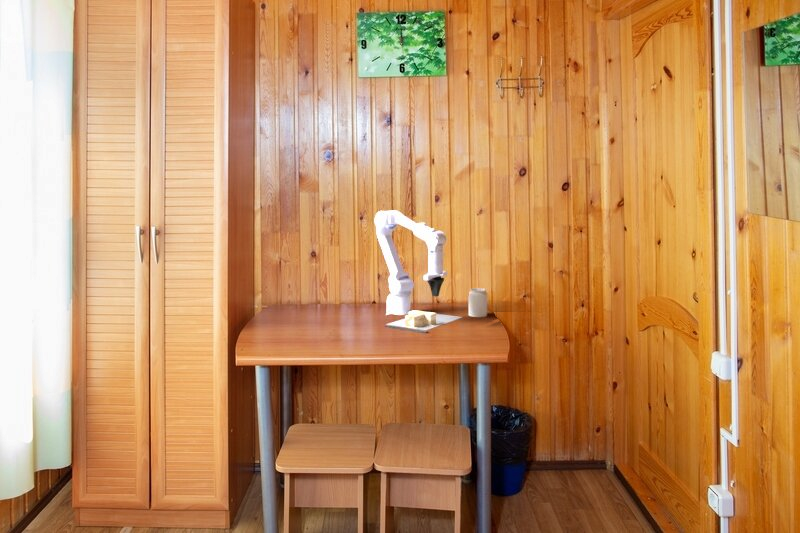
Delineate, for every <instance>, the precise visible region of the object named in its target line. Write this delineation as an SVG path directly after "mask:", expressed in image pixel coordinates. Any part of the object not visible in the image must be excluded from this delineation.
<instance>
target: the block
mask: <svg viewBox="0 0 800 533" xmlns="http://www.w3.org/2000/svg"><path fill="white" fill-rule="evenodd" d="M436 314H437V312H433V311H432V312H431V311H423V310H414V309H413V310H410V312H409V314H407V315H404V319H405V326H407V327H413V328H414V327H417V326H420V325H423V324H426V325H433V324H435V323H436Z"/></svg>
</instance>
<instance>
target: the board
mask: <svg viewBox="0 0 800 533" xmlns="http://www.w3.org/2000/svg"><path fill="white" fill-rule="evenodd" d="M462 318H463V316H456V315H450V314H441V313H436V323H435V324H433V325H426V324H423V325H420V326H417V327H414V328H413V327H407V326H405V318H401V319H399V320H395V321H392V322H388V323H386V324H385V328H386V327H387V328H388V329H394V330H400V331H407V332H413V333H414V332H415V333H419V334H428V333H430V331H428V330H430V329H433V328H434V329H435V328H437V327H439V326H440V327H441V326H442V325H443V326H444V325H445V324H448V323H451V322H454V321H457V320H459V319H462Z"/></svg>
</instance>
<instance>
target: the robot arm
mask: <svg viewBox="0 0 800 533" xmlns="http://www.w3.org/2000/svg"><path fill="white" fill-rule="evenodd" d="M373 221H374V224H375V227H376V228H375V229H376V236H377V239H378V242H379V245H380V247H381V250H382V251H381V252H382V254H383V257H384V260H385V262H386V265H387V267H388V268H387V269H388V270H389V271H388V272H389V274H390V275H389V277H388V279H387V281H388V288H389V289H388V290H389V292H390V293H389V294H388V296H387V298H386V314H385V316H387V315H397V316H406V315H409V312H410V311H411V295H412V291H413V290H414V287H415V283H414V281H413V279H412V278H411V276H410V275H409V273H408V272H407V271H406V270H404V269H403V265H402V263H401V259H400V256H399V254H398V251H397V249H396V246H395V243H394V240H393V237H392V233H393V231H394V230H395V229H396V227H397V226H398V225H399V226H401V227H404V228H406V229H408V230H410V231H412V233H413V235H414V236H415V237H417V238H418V239H420V240H422V241H424V242H425V244H426V245H427V250H428V265H427V266H428V272H427V273H426V274H424V275H423V281H426V282H427V283H428V285H429V288H430V291H431V296H432V297H435V298H436V297H439V295H440V292H441V288H442V285H443V283H444V281H445V277H447V276H448V271H447V270H444V245H445V243H446V242H447V235H446V234H445V232H443V231H442V230H437V231H436V229H435V228H434V227H432V228H431V227H430V226H428V225H427V223H426V222H418V223H417V222H415V221H414V220H413V219H410V218H409V217H408V216H405V215H404V214H403V213H402V212H400V211H398V210H396V209H394V210H393V209H392V210H380V211H378V212H377V213H376V214H375V217H374V220H373Z"/></svg>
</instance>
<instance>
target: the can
mask: <svg viewBox="0 0 800 533" xmlns="http://www.w3.org/2000/svg"><path fill="white" fill-rule="evenodd" d="M469 290H470V291H469V292H468V316H469V317H473V318H486V317H487V316H488V292H487V291H486V288H482V287H474V288H470V289H469Z"/></svg>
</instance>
